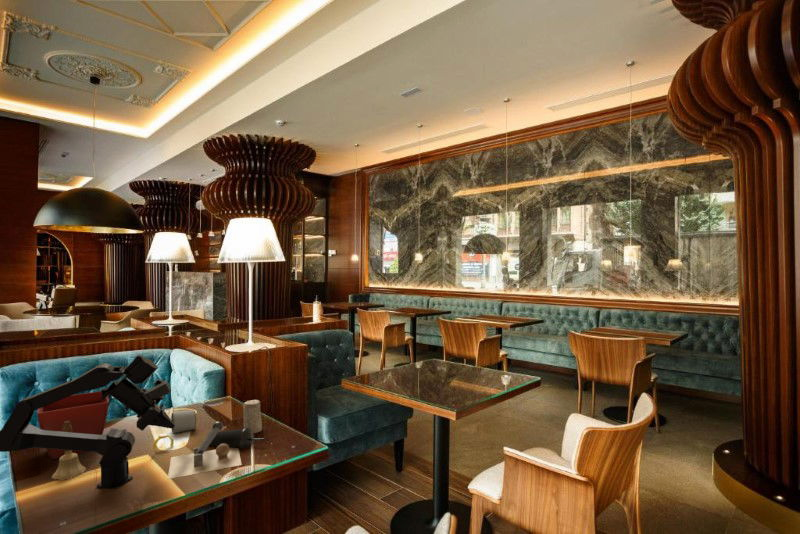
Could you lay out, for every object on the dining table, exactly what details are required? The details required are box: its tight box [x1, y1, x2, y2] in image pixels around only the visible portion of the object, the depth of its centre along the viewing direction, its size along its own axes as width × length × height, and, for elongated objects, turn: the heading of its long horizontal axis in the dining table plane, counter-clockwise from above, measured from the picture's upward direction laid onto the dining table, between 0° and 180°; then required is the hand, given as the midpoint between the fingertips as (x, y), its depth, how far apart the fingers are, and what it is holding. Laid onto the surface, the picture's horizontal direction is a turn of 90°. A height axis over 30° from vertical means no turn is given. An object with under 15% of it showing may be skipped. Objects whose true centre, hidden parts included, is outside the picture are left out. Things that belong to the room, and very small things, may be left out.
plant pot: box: [36, 390, 110, 460], centre depth 152 cm, size 19×19×17 cm
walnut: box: [215, 443, 229, 460], centre depth 139 cm, size 4×4×4 cm
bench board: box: [167, 446, 242, 480], centre depth 137 cm, size 20×16×5 cm
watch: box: [152, 433, 174, 452], centre depth 148 cm, size 6×3×6 cm, turn 139°
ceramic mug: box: [170, 409, 198, 435], centre depth 169 cm, size 11×8×8 cm
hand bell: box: [51, 421, 87, 480], centre depth 134 cm, size 8×8×16 cm
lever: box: [196, 421, 224, 454], centre depth 137 cm, size 3×4×12 cm
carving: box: [242, 399, 263, 434], centre depth 162 cm, size 6×8×12 cm
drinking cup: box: [209, 428, 265, 450], centre depth 149 cm, size 8×8×20 cm
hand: (173, 426), depth 133 cm, fingers closed
